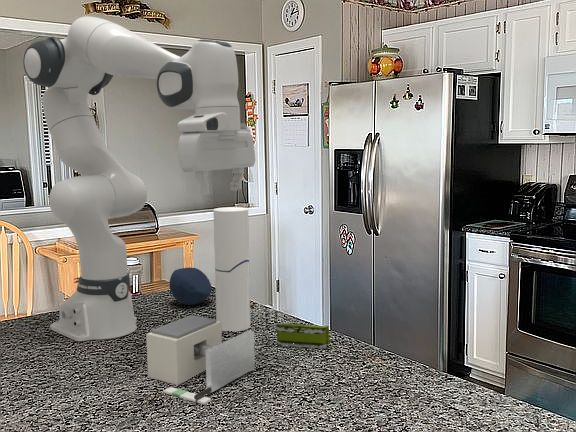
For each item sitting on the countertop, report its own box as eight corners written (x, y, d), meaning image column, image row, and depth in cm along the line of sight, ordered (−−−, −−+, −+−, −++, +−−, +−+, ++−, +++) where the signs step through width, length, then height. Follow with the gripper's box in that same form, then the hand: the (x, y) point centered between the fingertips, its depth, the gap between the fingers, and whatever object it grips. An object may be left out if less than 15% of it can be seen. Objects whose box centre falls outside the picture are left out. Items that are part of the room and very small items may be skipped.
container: (257, 324, 158) (255, 208, 154) (236, 333, 151) (234, 212, 147) (230, 319, 162) (227, 206, 158) (209, 328, 155) (206, 210, 151)
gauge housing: (133, 383, 121) (131, 336, 120) (193, 355, 136) (192, 313, 135) (204, 404, 112) (202, 353, 110) (260, 371, 127) (259, 326, 125)
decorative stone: (163, 309, 172) (162, 274, 171) (178, 297, 184) (177, 265, 182) (204, 310, 170) (203, 275, 169) (216, 299, 182) (215, 266, 181)
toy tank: (325, 331, 136) (333, 309, 145) (244, 326, 140) (256, 305, 149) (327, 359, 138) (334, 336, 147) (247, 352, 143) (259, 330, 152)
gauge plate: (152, 387, 118) (150, 347, 117) (212, 358, 133) (211, 322, 132) (196, 401, 112) (195, 358, 111) (254, 368, 127) (254, 331, 126)
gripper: (236, 124, 133) (239, 187, 134) (171, 123, 116) (175, 196, 117) (260, 122, 129) (263, 188, 131) (197, 121, 112) (201, 197, 114)
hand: (221, 192), depth 124 cm, fingers open, 8 cm apart
